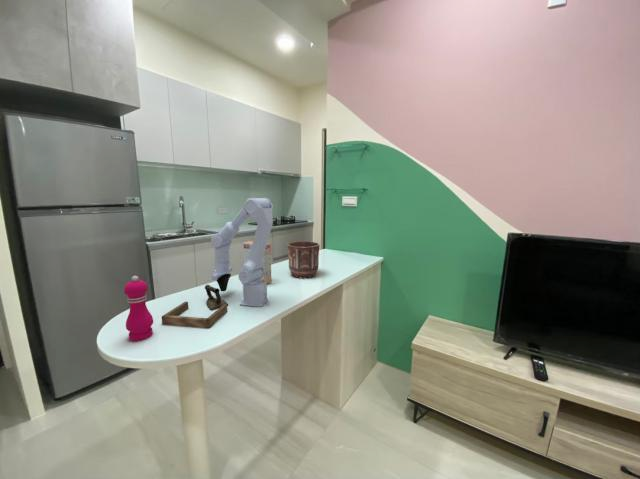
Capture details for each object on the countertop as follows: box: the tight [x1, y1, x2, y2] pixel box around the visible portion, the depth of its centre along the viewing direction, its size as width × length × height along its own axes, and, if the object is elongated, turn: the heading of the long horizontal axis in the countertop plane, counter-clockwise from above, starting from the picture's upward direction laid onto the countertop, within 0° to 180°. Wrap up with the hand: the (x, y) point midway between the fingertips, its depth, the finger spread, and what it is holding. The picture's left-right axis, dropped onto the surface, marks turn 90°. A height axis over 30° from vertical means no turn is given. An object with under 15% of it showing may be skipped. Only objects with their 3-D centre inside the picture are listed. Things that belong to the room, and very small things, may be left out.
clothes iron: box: [204, 284, 229, 312], centre depth 109 cm, size 7×11×10 cm, turn 48°
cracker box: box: [243, 240, 272, 285], centre depth 137 cm, size 14×6×21 cm, turn 58°
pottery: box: [286, 241, 320, 279], centre depth 150 cm, size 18×18×18 cm
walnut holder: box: [161, 301, 228, 329], centre depth 97 cm, size 17×13×3 cm
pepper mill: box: [123, 275, 154, 342], centre depth 83 cm, size 7×7×20 cm
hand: (223, 290), depth 118 cm, fingers closed
